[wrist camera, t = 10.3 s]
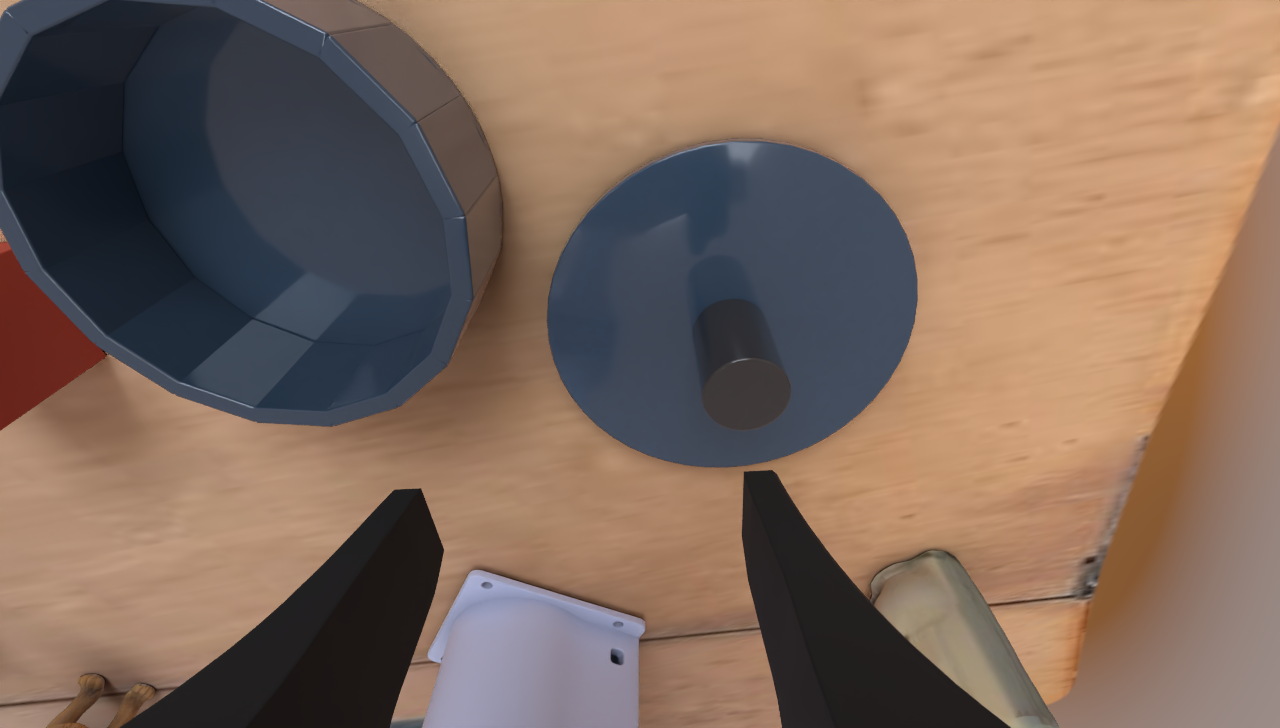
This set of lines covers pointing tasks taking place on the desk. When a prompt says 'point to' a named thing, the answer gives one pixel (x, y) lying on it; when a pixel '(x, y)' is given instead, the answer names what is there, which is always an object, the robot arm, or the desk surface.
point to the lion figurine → (89, 694)
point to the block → (34, 343)
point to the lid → (732, 303)
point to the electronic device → (959, 635)
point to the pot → (247, 197)
